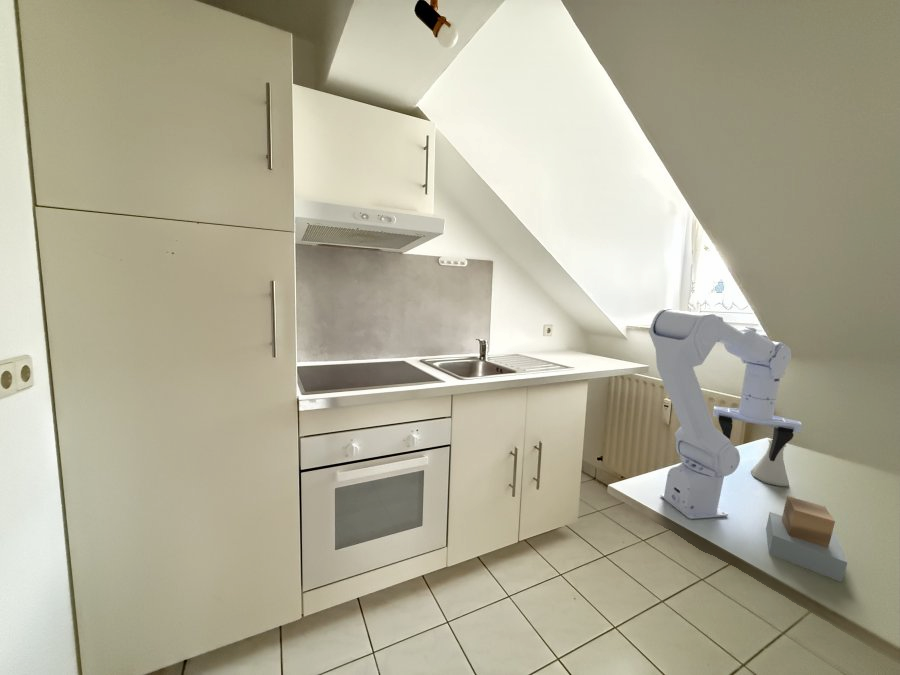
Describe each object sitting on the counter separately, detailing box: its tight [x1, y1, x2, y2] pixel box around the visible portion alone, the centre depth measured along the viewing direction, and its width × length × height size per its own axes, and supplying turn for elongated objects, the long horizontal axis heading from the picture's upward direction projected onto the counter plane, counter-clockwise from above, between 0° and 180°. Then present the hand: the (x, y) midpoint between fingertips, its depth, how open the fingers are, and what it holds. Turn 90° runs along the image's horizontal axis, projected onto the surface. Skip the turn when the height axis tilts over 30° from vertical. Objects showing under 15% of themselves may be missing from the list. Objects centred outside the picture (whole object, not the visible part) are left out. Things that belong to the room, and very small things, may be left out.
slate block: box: [765, 511, 848, 583], centre depth 64 cm, size 9×9×4 cm
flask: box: [750, 439, 790, 487], centre depth 89 cm, size 7×7×10 cm
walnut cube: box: [781, 495, 836, 548], centre depth 64 cm, size 5×5×5 cm
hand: (748, 453), depth 79 cm, fingers open, 7 cm apart
